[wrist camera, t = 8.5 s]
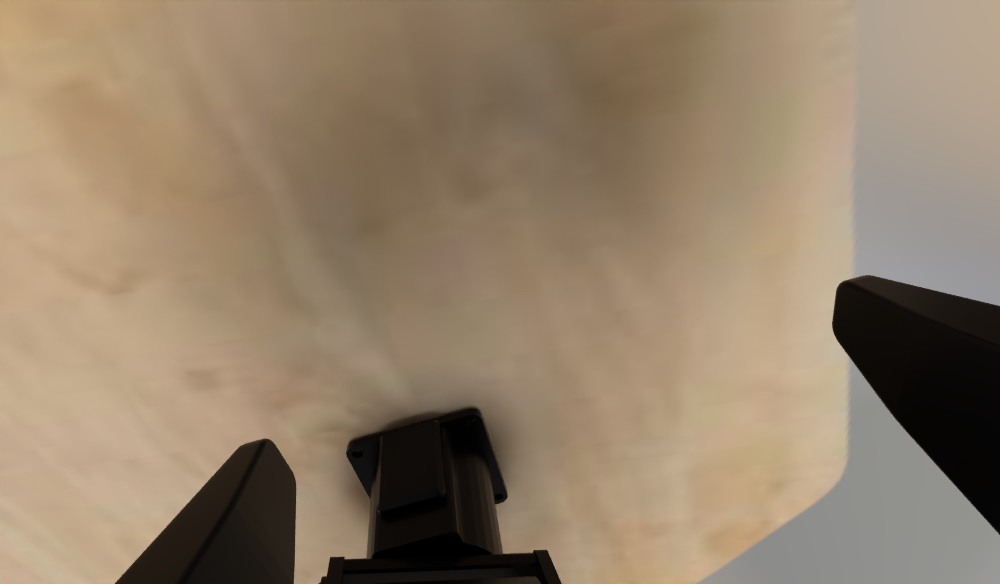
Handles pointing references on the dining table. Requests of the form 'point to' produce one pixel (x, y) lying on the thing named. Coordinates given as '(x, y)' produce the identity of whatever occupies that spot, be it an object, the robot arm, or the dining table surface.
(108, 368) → the dining table surface
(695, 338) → the dining table surface
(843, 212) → the dining table surface
